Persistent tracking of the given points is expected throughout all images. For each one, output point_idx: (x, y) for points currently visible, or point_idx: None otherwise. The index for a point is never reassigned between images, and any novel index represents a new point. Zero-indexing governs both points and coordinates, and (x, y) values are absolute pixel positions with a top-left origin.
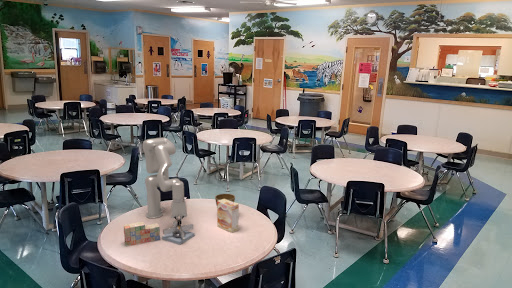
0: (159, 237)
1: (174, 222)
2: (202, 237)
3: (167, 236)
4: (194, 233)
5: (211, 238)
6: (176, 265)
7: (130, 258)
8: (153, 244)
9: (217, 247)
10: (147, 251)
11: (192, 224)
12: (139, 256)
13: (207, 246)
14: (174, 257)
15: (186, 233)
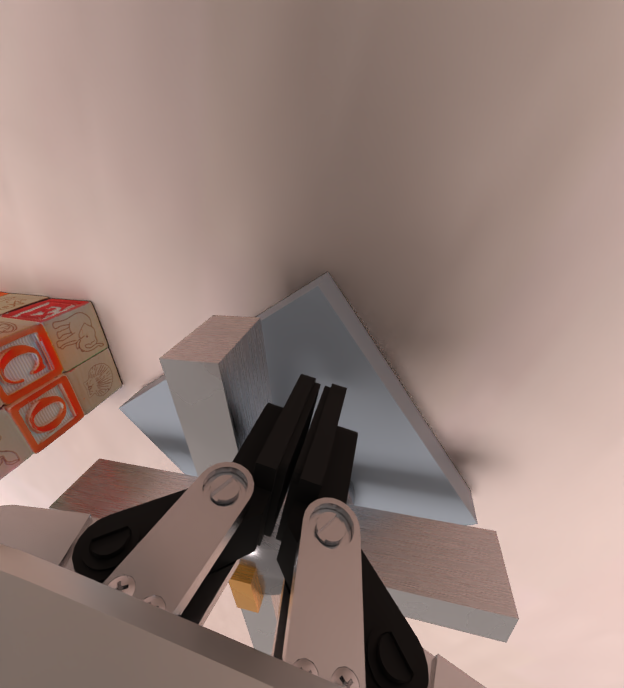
0: (101, 399)
1: (199, 414)
2: (525, 549)
3: (171, 435)
4: (474, 520)
5: (593, 602)
6: (225, 630)
7: (4, 488)
8: (86, 427)
9: (519, 675)
10: (69, 480)
11: (499, 634)
12: (42, 497)
13: (461, 637)
14: (222, 593)
15: (381, 485)
